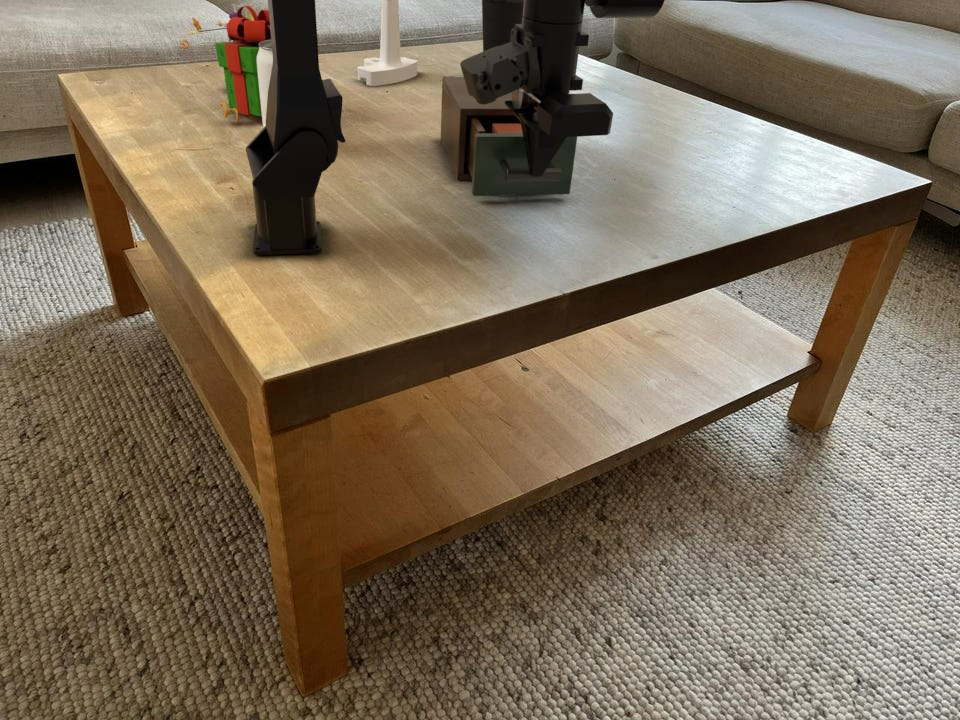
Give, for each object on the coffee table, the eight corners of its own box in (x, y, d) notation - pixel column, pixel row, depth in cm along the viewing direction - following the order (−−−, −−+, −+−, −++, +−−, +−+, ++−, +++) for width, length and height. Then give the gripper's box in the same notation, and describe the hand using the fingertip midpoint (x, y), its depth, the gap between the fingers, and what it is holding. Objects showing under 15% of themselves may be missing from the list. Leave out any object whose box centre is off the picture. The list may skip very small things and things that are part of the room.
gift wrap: (280, 103, 119) (271, 1, 112) (355, 121, 107) (349, 8, 101) (156, 118, 106) (137, 4, 99) (225, 140, 94) (209, 13, 88)
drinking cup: (469, 85, 127) (476, -51, 116) (482, 74, 133) (490, -56, 122) (514, 91, 125) (525, -45, 114) (525, 80, 131) (537, -51, 120)
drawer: (580, 209, 85) (589, 149, 81) (480, 211, 83) (484, 150, 79) (542, 156, 98) (547, 102, 94) (454, 156, 96) (457, 102, 92)
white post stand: (376, 87, 122) (374, -53, 111) (343, 77, 126) (338, -60, 115) (422, 75, 130) (425, -57, 118) (390, 66, 133) (389, -64, 122)
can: (304, 153, 96) (297, 53, 89) (255, 146, 97) (245, 47, 90) (323, 137, 101) (317, 41, 94) (277, 131, 102) (268, 35, 95)
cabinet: (557, 178, 95) (565, 109, 90) (457, 180, 92) (460, 108, 87) (530, 141, 105) (536, 77, 101) (440, 142, 103) (442, 76, 98)
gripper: (442, -1, 77) (438, 149, 86) (508, 42, 63) (494, 217, 72) (543, -1, 81) (529, 144, 89) (628, 40, 66) (600, 208, 75)
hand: (535, 175), depth 81 cm, fingers closed
